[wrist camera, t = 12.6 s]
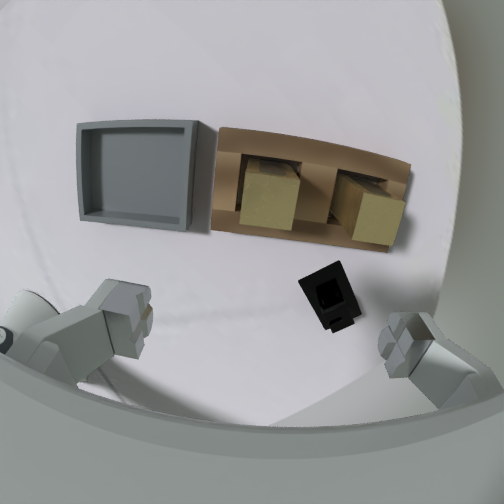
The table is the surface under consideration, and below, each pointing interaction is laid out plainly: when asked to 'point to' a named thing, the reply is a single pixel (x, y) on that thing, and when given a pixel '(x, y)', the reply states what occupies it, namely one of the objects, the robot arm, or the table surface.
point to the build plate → (331, 297)
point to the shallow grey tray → (136, 172)
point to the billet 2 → (366, 210)
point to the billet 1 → (269, 195)
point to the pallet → (311, 183)
